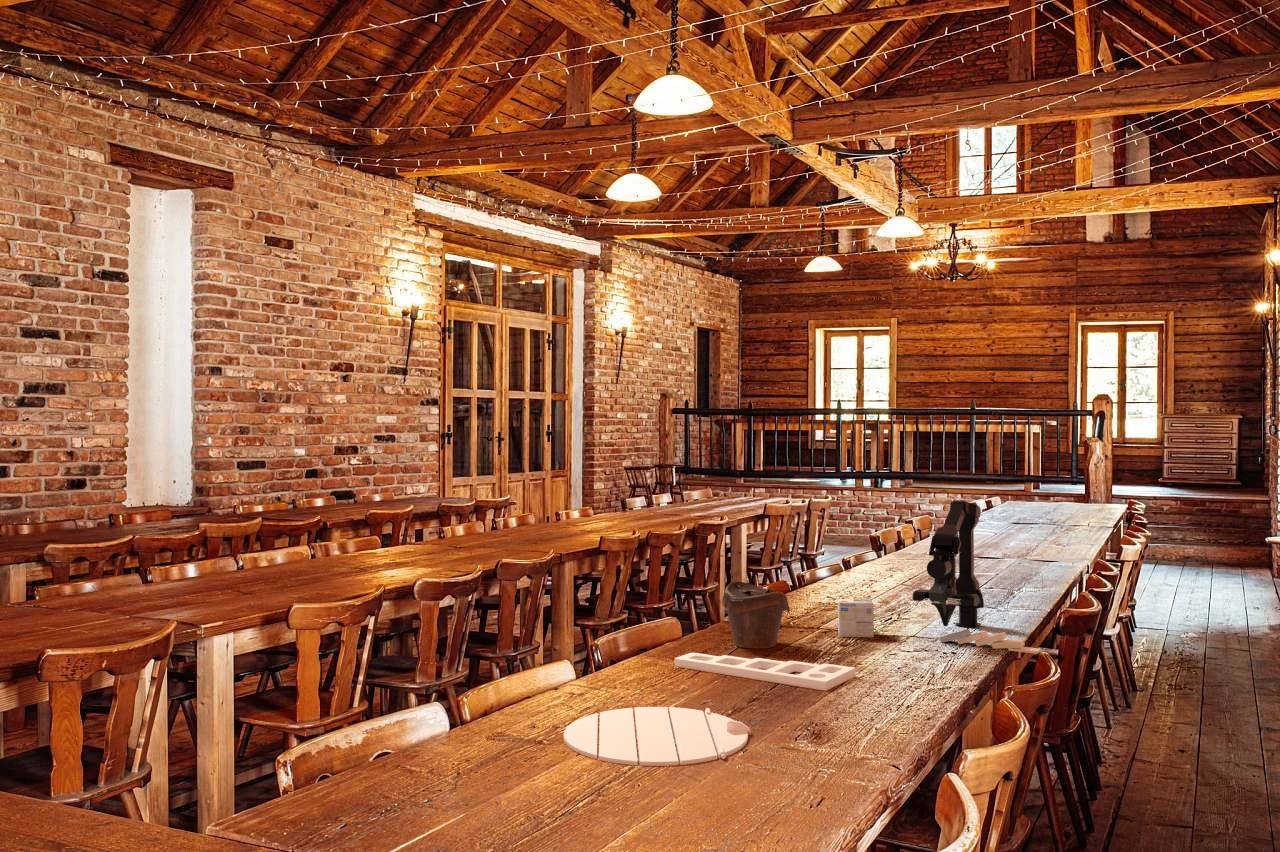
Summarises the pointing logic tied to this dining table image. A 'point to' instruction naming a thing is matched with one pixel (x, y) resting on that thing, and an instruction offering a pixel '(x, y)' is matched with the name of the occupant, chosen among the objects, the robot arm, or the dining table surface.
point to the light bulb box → (855, 618)
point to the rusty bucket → (754, 614)
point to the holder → (770, 670)
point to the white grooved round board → (656, 736)
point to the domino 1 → (955, 636)
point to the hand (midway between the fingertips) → (945, 626)
